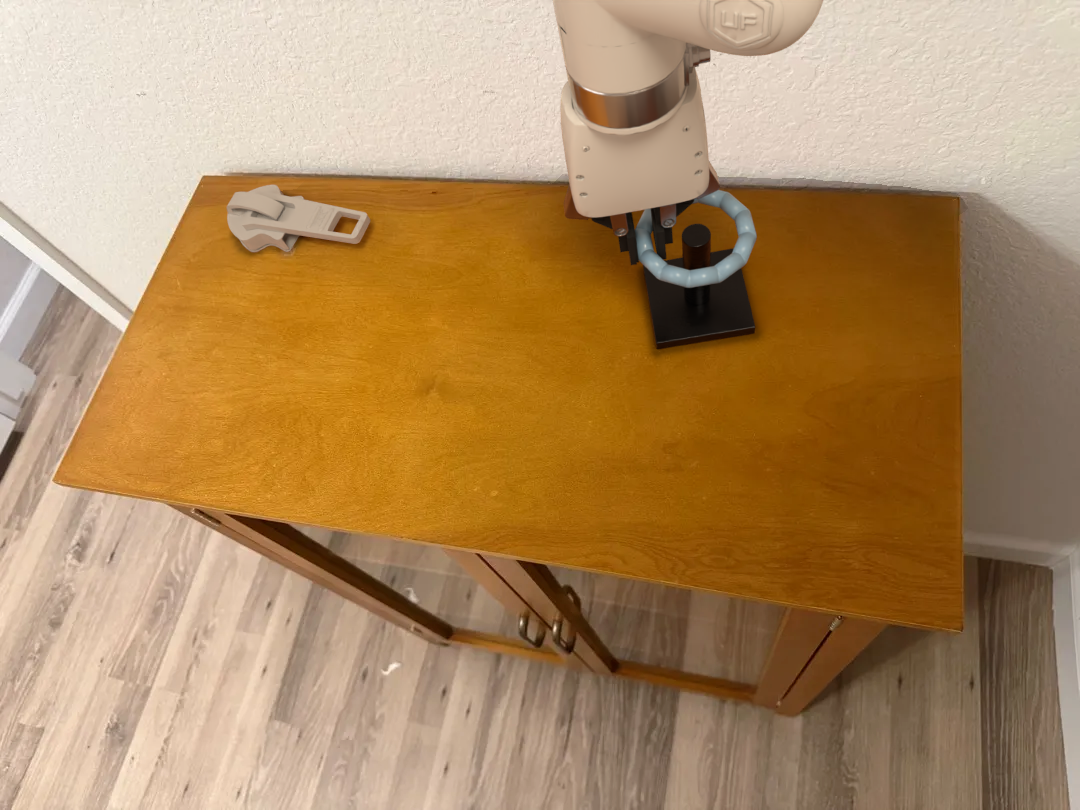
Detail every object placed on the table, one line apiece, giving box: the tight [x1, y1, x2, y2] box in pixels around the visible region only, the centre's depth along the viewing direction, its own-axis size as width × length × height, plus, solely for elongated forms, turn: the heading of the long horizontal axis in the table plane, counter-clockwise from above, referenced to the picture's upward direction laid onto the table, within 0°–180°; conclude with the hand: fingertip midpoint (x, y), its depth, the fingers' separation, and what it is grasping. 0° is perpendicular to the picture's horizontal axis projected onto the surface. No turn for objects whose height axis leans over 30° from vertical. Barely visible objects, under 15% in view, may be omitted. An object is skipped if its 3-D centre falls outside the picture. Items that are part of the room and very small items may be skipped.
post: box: [642, 223, 756, 350], centre depth 69 cm, size 9×9×10 cm
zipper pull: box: [226, 184, 371, 253], centre depth 85 cm, size 8×18×4 cm, turn 70°
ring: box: [634, 189, 758, 288], centre depth 64 cm, size 10×10×1 cm
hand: (646, 247), depth 65 cm, fingers closed on ring, 1 cm apart
